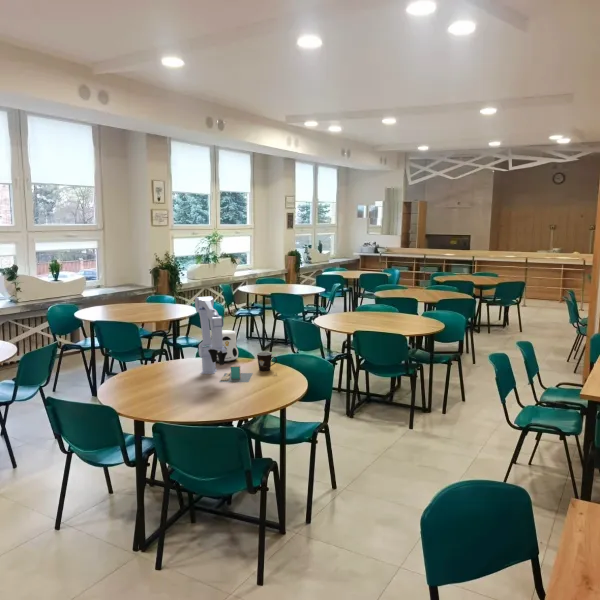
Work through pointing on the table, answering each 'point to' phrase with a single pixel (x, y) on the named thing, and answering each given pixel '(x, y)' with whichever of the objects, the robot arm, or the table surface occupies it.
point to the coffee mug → (265, 361)
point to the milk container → (229, 345)
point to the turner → (226, 377)
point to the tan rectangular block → (235, 372)
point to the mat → (244, 378)
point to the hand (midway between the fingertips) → (218, 363)
